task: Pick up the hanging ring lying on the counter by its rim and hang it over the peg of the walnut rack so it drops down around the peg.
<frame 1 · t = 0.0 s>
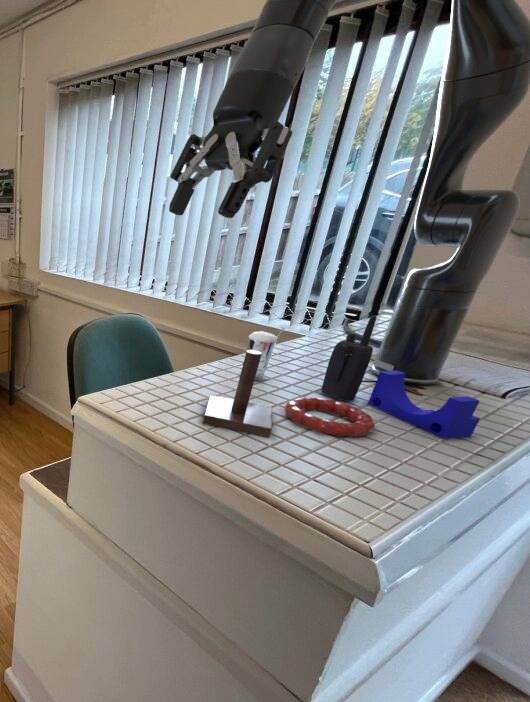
hand: (198, 214, 61), 31 cm above the worktop, tool tilted 20°, fingers open, 8 cm apart
cable clip: (414, 420, 73), on the worktop
rack: (236, 418, 75), on the worktop
ring: (327, 415, 73), point 1 cm above the worktop
two-way radio: (333, 398, 81), on the worktop
milkshake: (254, 378, 90), on the worktop
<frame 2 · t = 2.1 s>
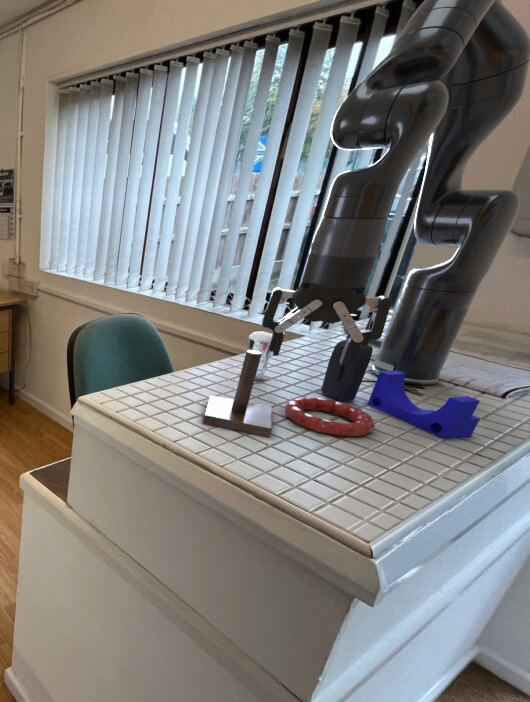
hand: (307, 359, 71), 10 cm above the worktop, tool pointing down, fingers open, 8 cm apart
nothing on the worktop moved.
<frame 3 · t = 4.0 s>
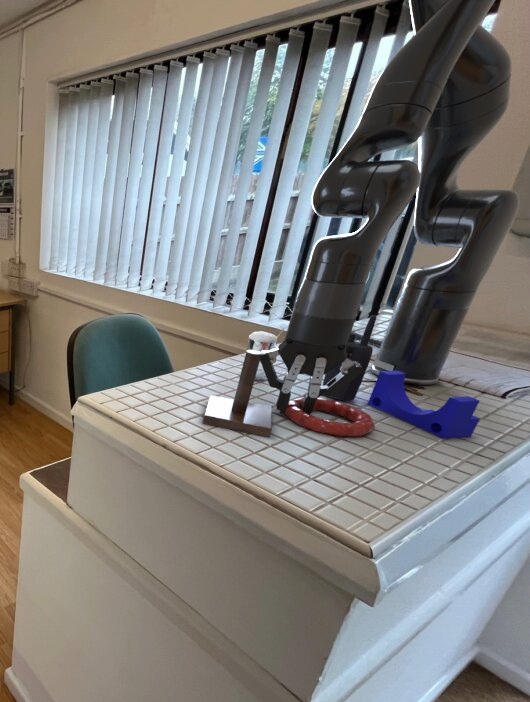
hand: (291, 413, 75), 0 cm above the worktop, tool pointing down, fingers closed on ring, 2 cm apart
ring: (327, 415, 73), point 1 cm above the worktop, touching gripper
everything else where it was.
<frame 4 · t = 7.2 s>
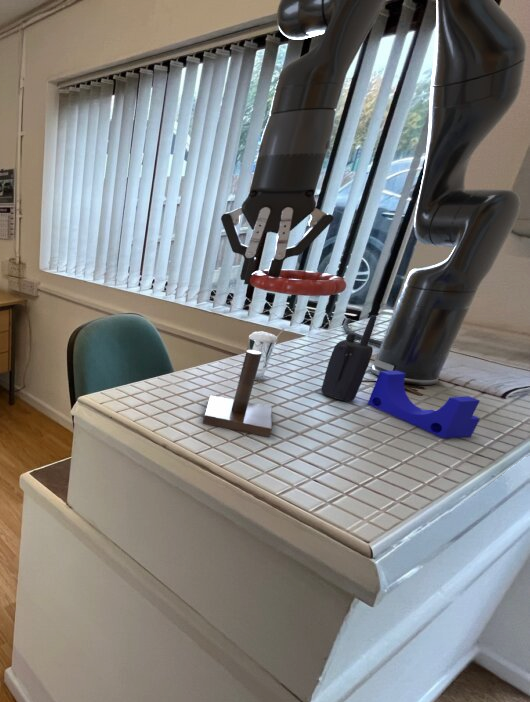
hand: (256, 283, 68), 21 cm above the worktop, tool pointing down, fingers closed on ring
ring: (295, 281, 65), point 22 cm above the worktop, touching gripper
everything else where it was.
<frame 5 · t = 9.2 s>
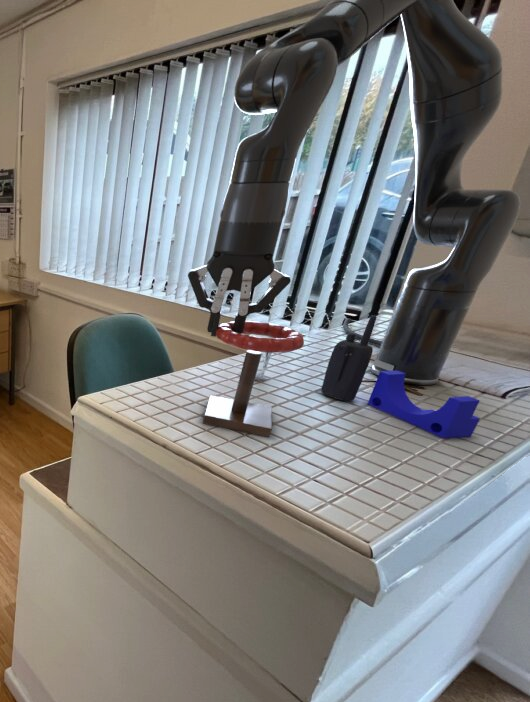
hand: (223, 336, 71), 13 cm above the worktop, tool pointing down, fingers closed on ring
ring: (258, 335, 69), point 14 cm above the worktop, touching gripper
everything else where it was.
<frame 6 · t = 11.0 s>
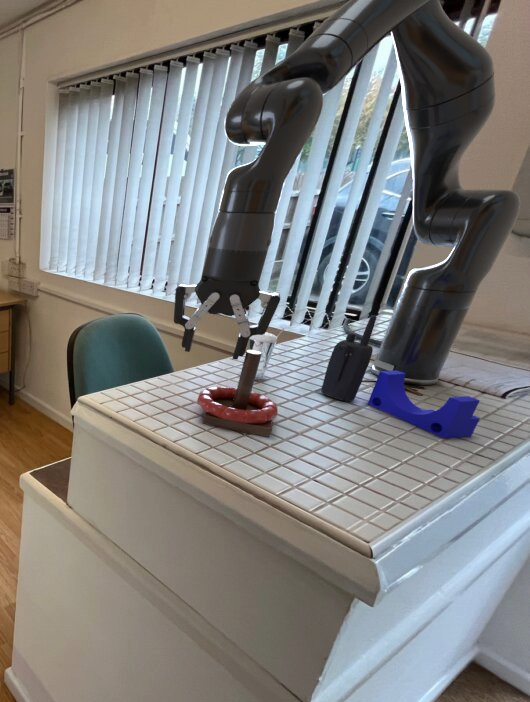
hand: (210, 353, 73), 10 cm above the worktop, tool pointing down, fingers open, 6 cm apart
ring: (236, 404, 74), point 2 cm above the worktop, touching rack
everything else where it was.
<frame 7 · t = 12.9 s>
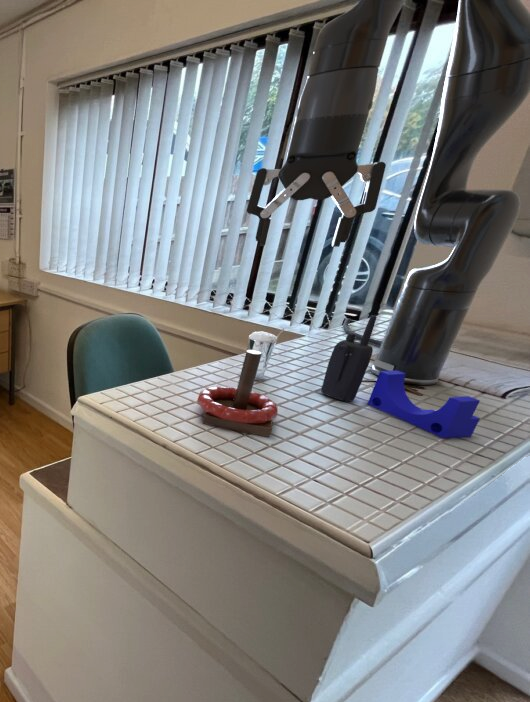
hand: (297, 245, 66), 27 cm above the worktop, tool pointing down, fingers open, 8 cm apart
nothing on the worktop moved.
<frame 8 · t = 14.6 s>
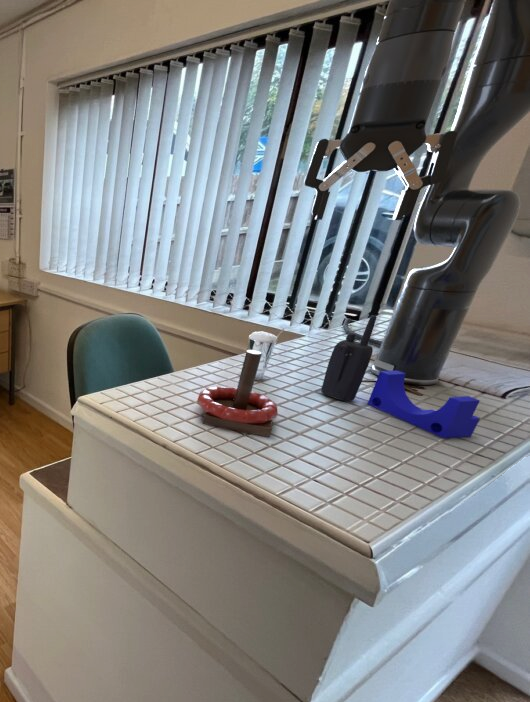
hand: (356, 219, 64), 30 cm above the worktop, tool pointing down, fingers open, 8 cm apart
nothing on the worktop moved.
at the end: ring 0.5 cm from the rack (horizontally); ring point 2.5 cm above the worktop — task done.
